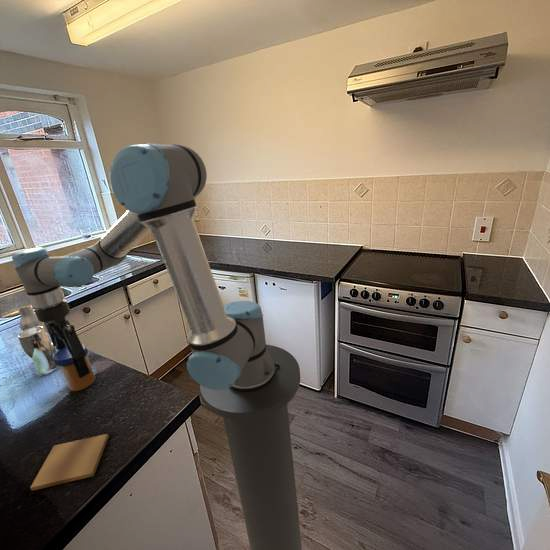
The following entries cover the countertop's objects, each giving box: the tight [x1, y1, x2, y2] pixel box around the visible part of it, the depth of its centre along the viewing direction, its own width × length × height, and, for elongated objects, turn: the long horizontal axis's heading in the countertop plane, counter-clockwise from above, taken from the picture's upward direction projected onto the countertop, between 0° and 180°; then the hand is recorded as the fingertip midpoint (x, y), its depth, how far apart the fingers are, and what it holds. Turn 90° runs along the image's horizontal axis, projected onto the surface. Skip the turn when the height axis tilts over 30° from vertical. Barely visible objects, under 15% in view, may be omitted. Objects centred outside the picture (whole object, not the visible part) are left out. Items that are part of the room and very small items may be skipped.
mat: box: [29, 433, 110, 491], centre depth 67 cm, size 12×10×1 cm
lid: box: [53, 343, 89, 367], centre depth 88 cm, size 8×8×2 cm
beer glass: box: [17, 326, 59, 377], centre depth 97 cm, size 7×7×15 cm
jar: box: [58, 354, 97, 392], centre depth 90 cm, size 7×7×11 cm
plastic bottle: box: [18, 305, 57, 357], centre depth 103 cm, size 6×7×20 cm
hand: (77, 370), depth 90 cm, fingers closed on lid, 8 cm apart
